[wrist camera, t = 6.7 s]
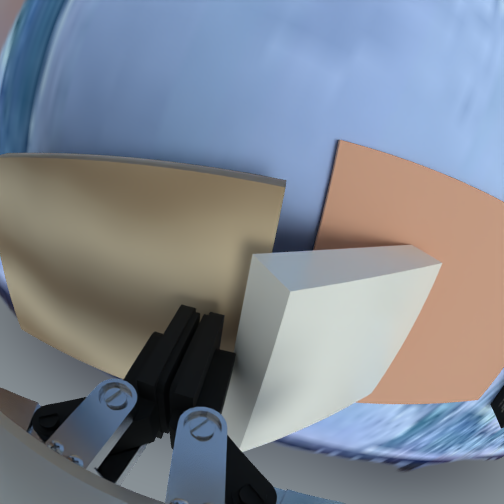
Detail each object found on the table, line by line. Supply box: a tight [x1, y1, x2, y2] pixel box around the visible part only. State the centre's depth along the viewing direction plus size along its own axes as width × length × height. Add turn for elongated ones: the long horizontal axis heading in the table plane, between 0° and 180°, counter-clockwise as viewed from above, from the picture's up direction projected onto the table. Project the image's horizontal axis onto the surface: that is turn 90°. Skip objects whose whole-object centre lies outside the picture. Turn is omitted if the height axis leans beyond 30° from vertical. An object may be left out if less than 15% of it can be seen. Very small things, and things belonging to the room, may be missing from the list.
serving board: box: [0, 153, 286, 379], centre depth 14 cm, size 12×16×4 cm
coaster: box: [222, 245, 442, 452], centre depth 11 cm, size 9×9×2 cm
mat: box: [313, 140, 504, 404], centre depth 14 cm, size 16×20×1 cm
